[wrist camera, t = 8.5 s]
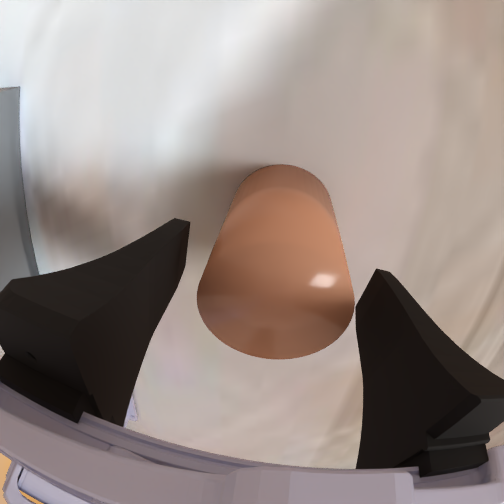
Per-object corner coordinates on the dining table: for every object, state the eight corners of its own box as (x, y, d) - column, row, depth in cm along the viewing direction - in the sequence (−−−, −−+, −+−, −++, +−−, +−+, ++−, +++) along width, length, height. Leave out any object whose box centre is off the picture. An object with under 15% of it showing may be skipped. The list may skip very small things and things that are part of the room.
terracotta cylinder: (314, 263, 17) (320, 368, 11) (225, 241, 17) (191, 341, 11) (345, 180, 14) (381, 266, 8) (243, 153, 14) (207, 222, 8)
